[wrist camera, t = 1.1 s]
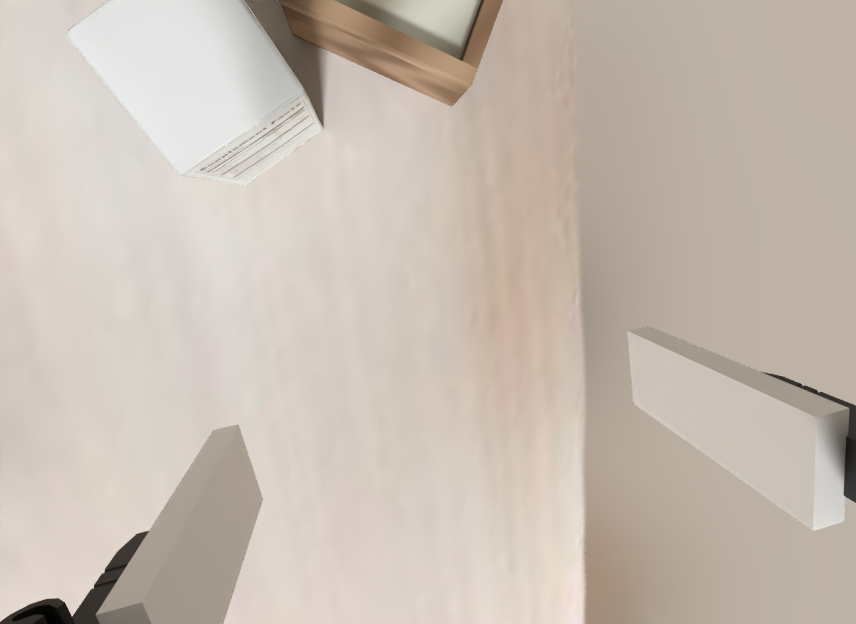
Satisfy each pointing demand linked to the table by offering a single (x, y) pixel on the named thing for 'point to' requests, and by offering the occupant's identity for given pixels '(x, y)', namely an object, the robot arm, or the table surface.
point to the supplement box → (200, 84)
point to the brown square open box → (402, 38)
